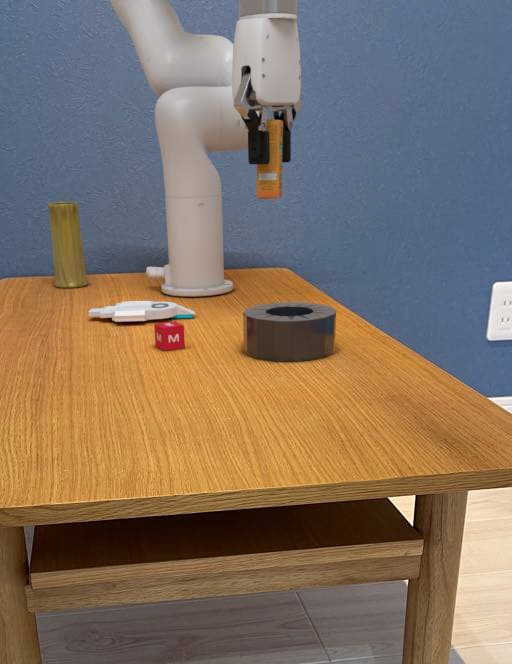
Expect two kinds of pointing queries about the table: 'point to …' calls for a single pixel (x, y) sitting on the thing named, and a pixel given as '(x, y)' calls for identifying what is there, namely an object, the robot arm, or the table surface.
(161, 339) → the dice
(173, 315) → the toy rocket
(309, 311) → the tape roll
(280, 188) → the supplement box
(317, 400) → the table surface
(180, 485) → the table surface
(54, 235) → the vase
